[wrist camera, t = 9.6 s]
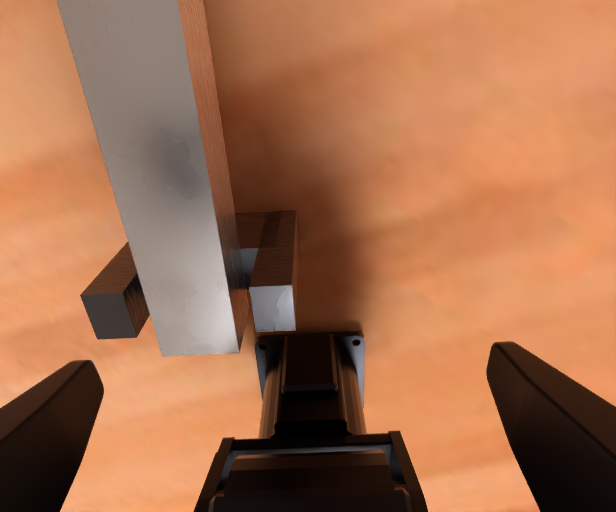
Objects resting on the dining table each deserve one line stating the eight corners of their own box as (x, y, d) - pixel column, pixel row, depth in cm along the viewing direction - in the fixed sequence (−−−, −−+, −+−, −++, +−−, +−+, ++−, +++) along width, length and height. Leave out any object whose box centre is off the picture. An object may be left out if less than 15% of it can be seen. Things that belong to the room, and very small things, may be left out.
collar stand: (298, 245, 21) (295, 330, 15) (157, 252, 21) (97, 339, 15) (254, -369, 12) (195, -839, 5) (0, -348, 12) (-340, -782, 6)
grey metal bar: (250, 306, 18) (240, 353, 15) (182, 309, 18) (160, 357, 15) (112, -632, 8) (3, -1008, 5) (-47, -618, 8) (-241, -980, 5)
